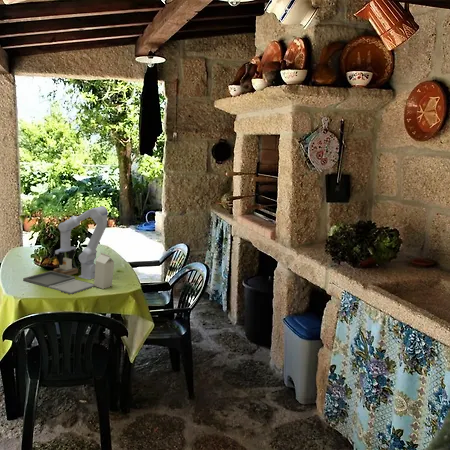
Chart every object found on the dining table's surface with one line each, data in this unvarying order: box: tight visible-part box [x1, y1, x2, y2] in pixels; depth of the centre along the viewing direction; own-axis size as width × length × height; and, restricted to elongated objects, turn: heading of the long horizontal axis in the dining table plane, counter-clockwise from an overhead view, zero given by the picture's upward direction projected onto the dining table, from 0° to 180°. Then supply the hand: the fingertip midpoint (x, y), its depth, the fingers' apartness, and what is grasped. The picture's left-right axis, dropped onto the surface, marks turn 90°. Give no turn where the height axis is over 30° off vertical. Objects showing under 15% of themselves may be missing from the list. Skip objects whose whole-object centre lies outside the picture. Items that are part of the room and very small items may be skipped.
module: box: [59, 257, 73, 270], centre depth 305 cm, size 6×4×6 cm
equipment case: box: [22, 270, 97, 295], centre depth 286 cm, size 38×20×2 cm, turn 60°
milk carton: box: [93, 252, 115, 290], centre depth 283 cm, size 7×7×19 cm
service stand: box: [53, 266, 79, 276], centre depth 306 cm, size 10×10×3 cm
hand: (65, 263), depth 305 cm, fingers open, 7 cm apart
